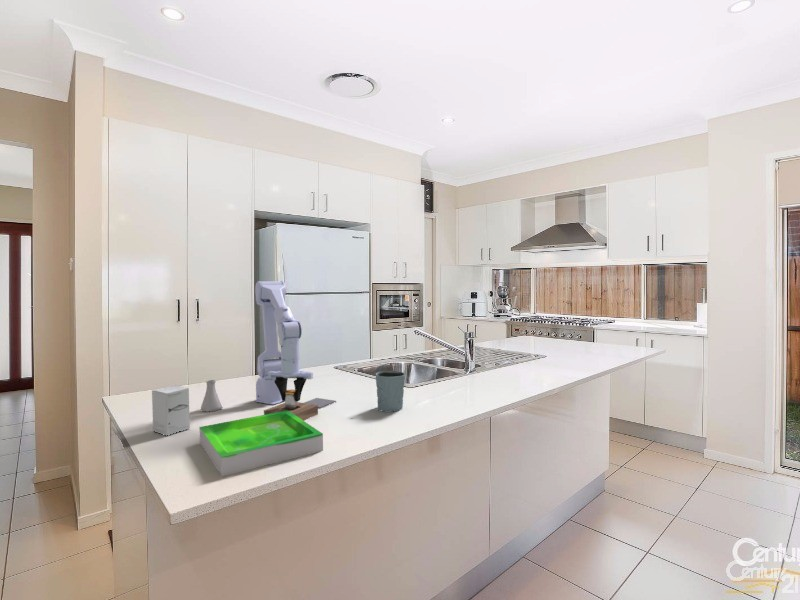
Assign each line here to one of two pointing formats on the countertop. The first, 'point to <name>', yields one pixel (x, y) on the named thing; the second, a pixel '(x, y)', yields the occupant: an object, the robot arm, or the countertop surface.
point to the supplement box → (170, 409)
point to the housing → (296, 410)
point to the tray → (258, 441)
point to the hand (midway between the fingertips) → (291, 400)
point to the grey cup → (390, 390)
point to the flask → (211, 398)
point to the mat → (320, 402)
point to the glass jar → (290, 400)
